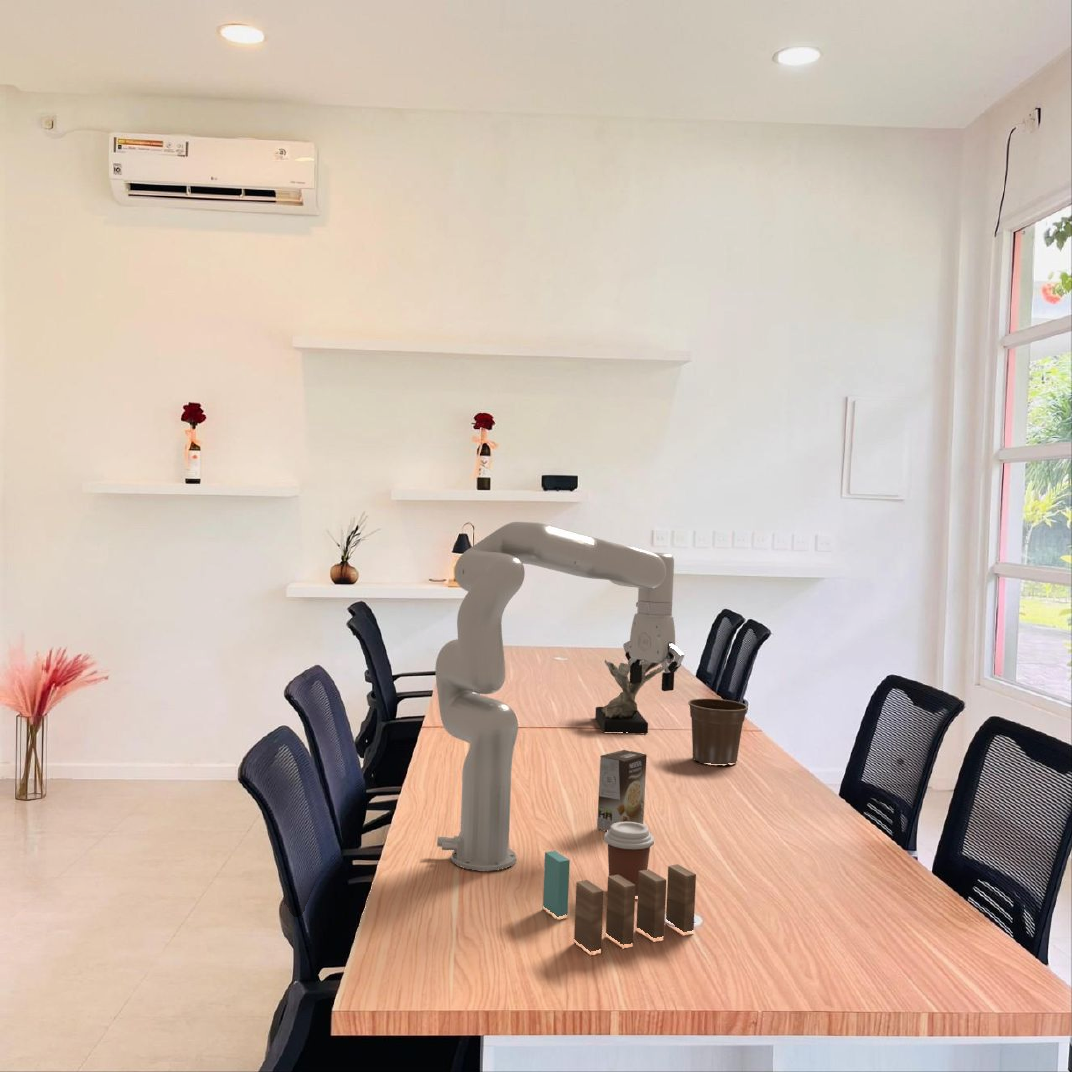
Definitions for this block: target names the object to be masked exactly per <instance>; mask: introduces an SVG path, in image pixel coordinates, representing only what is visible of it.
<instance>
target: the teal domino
mask: <svg viewBox="0 0 1072 1072" xmlns="http://www.w3.org/2000/svg"><path fill="white" fill-rule="evenodd" d="M570 862H571V860H570V859H569V858H567V857H565V856H564V855H563V854H561V853H559V852H558V851H556V850H551V851H545V852H544V866H543V867H544V869H543V870H544V871H543V894H542V895H543V896H542V897H543V898H542V907H543V906H544V907H545V908H547V909H548V910H550V912H552V913H554V914H555V915H556V916H557V917H559V916H563V915H565V914H566V915H567V914H569V912H568V911H569V887H570V886H569V885H570V865H571V864H570Z"/></svg>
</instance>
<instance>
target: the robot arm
mask: <svg viewBox="0 0 1072 1072" xmlns="http://www.w3.org/2000/svg"><path fill="white" fill-rule="evenodd" d="M524 564H525V565H531V566H535V567H541V568H544V569H548V570H553V571H556V572H560V573H564V574H568V575H571V576H576V577H579V578H580V577H581V578H584V579H585V578H587V579H592V580H593V579H595V580H607V581H610V582H611V583H612V584H614V585H617V586H621V587H630V588H637V589H638V591H637V592H638V593H637V594H638V595H637V602H636V603H635V606H636V608H637V611H636V612H637V613H634V615H633V619H632V623H631V629H630V635H629V640H628V641H626V642H625V643H623V645H622V647H623V650H624V652H625V653H624V655H625V657H626V659H627V664H629V665H631V666H630V672H629V682H630V684H636V683H641V681H642V665H640V663H641V662H642V661H648V662H653V663H660V666H661V667H663V669H664V670H663V671H664V672H663V671H662V673H661V691H663V692H669V691H673V690H674V688H675V687H674V686H675V673H677V672H678V669H679V668H680V667H681V666H682V662H683V660H684V658H685V653H683V652H682V651H681V650H680V649H679V648H678V647H677V646H676V630H675V627H676V626H675V620H674V616H673V615H672V614H673V597H674V595H673V594H674V593H673V592H674V571H675V559H674V556H673V555H672V554H671V553H665V552H650V551H647V550H642V549H638V548H636V547H631V546H627V545H622V544H618V543H615V542H611V541H607V540H604V539H600V538H596V537H593V536H588V535H585V534H580V533H578V532H573V531H570V530H567V529H563V528H559V527H556V526H552V525H549V524H546V523H539V522H529V521H528V522H527V521H512V522H509V523H506V524H504V525H503V526H501V527H499V528H498V529H496V530H495V531H493V532H492V533H490V534H489V535H487V536H486V537H484V538H482V539H481V540H480V541H478V542H476V543H475V544H474V545H473V546H471V547H470V548H468V549H467V550H465V551H464V552H463V553H462V554H461V555H460V556H459V557H458V559H457V561H456V563H455V566H454V574H453V575H454V579H455V582H456V583H457V584H458V585H459V587H460V588H461V589H462V590H463V591H466V592H467V593H466V595H465V596H464V598H463V599H462V601H461V603H460V606H459V608H458V612H457V618H456V619H457V620H456V627H457V630H456V631H457V638H456V639H452V640H450V641H448V642H447V643H446V644H444V645H443V646H442V647H441V649H440V651H439V653H437V658H436V661H435V681H436V682H435V683H436V690H437V700H438V708H439V716H440V720H441V723H442V726H443V728H444V730H445V731H446V732H447V733H448V734H449V735H450V736H452V737H454V738H455V739H457V740H460V741H463V742H466V743H467V744H469V749H468V750H467V753H466V756H465V759H464V762H463V765H462V773H461V805H460V806H461V808H460V831H459V834H458V835H453V837H448V836H437V843H436V846H437V847H438V848H439V847H440V848H441V850H442V851H452V852H451V862H452V861H453V862H454V863H455V864H456V866H457V867H459V866H462V867H464V868H467V869H466V870H468V869H472V870H471V871H474V870H478V871H477V872H481V871H480V870H484V871H483V872H490V871H489V870H497V871H499V870H498V869H502V868H506V867H508V866H511V867H513V866H514V865H515V864H516V862H517V854H516V852H515V851H514V850H512V849H511V848H509V845H510V821H511V819H510V818H511V796H512V795H511V793H512V765H513V759H514V758H513V756H514V751H515V746H516V742H517V737H518V732H519V720H518V717H517V715H516V713H515V711H514V710H513V708H512V707H510V706H509V705H508V704H507V703H505V702H503V701H501V700H498V699H495V698H492V697H489V696H484V695H490V694H494V693H496V692H498V691H500V689H502V687H503V686H504V684H505V681H506V660H505V651H504V650H505V649H504V642H503V633H502V632H503V631H502V625H503V624H502V619H503V616H504V615H503V614H504V611H505V609H506V607H507V605H508V604H509V602H511V599H513V597H514V596H516V594H517V592H519V590H520V589H521V587H522V586H523V583H524V581H525V576H526V575H525V574H526V573H525V572H526V571H525V566H524ZM482 694H483V695H482ZM453 862H452V863H453ZM454 863H453V864H454ZM514 863H515V864H514ZM455 864H454V865H455ZM513 864H514V865H513ZM464 868H463V869H464ZM506 869H507V868H506ZM502 870H503V869H502Z"/></svg>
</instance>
